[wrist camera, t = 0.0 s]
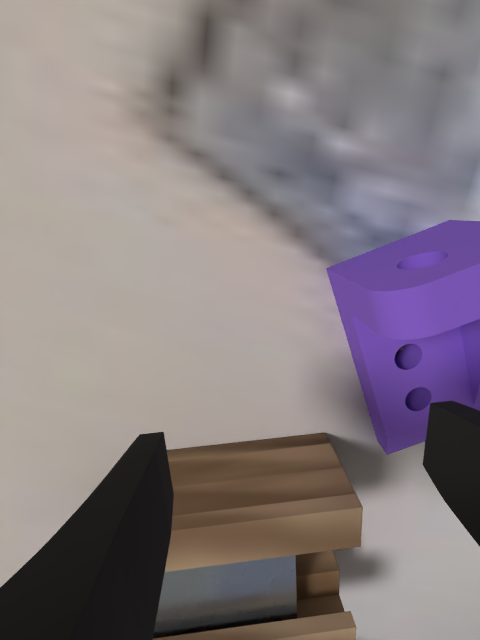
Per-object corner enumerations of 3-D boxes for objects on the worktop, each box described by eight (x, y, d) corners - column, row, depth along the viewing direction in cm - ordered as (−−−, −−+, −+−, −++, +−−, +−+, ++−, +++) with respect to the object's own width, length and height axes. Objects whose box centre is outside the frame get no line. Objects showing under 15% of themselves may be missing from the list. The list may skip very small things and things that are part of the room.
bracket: (324, 267, 18) (386, 299, 12) (445, 219, 18) (576, 225, 12) (375, 438, 22) (443, 533, 16) (476, 401, 22) (588, 482, 15)
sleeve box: (324, 560, 25) (354, 656, 19) (157, 582, 24) (142, 687, 19) (324, 432, 21) (362, 507, 16) (130, 454, 21) (102, 539, 15)
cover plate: (291, 596, 21) (299, 632, 19) (96, 623, 21) (85, 662, 19) (288, 495, 19) (296, 526, 17) (65, 522, 18) (49, 557, 16)
